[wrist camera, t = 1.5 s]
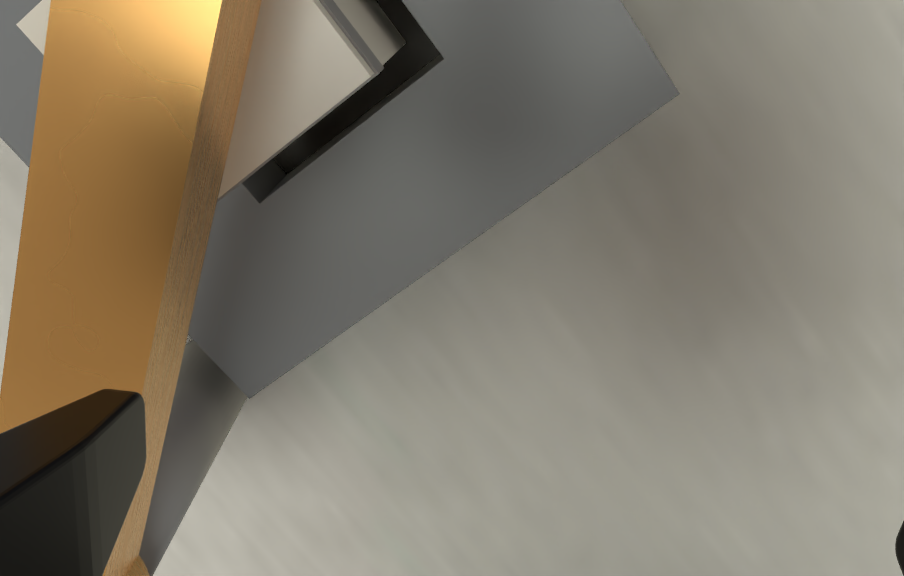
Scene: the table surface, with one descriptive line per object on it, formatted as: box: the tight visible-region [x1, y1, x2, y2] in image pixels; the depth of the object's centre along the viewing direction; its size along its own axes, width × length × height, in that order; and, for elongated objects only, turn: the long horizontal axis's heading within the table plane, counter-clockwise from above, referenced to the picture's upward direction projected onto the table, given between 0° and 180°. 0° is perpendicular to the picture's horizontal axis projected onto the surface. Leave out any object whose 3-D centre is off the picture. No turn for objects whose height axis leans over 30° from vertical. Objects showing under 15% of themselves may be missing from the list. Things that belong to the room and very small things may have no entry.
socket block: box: [0, 0, 680, 576], centre depth 16 cm, size 14×16×8 cm
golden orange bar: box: [0, 0, 262, 576], centre depth 12 cm, size 15×3×2 cm, turn 162°
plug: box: [16, 0, 406, 202], centre depth 16 cm, size 4×4×8 cm
